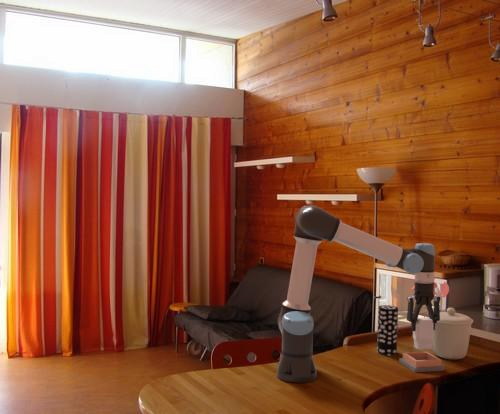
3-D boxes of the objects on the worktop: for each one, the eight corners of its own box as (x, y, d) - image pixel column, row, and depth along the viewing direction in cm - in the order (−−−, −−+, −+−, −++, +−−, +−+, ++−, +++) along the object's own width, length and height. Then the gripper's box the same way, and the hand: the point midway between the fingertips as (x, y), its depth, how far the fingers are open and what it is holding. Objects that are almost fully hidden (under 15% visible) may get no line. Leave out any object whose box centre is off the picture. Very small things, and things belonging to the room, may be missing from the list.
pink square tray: (414, 372, 223) (414, 362, 223) (399, 361, 236) (399, 352, 236) (444, 370, 226) (444, 360, 226) (427, 360, 239) (428, 350, 239)
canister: (442, 347, 258) (443, 301, 257) (480, 357, 244) (481, 309, 243) (419, 354, 246) (420, 306, 246) (457, 365, 233) (459, 314, 232)
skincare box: (426, 346, 233) (428, 317, 233) (432, 349, 229) (433, 319, 229) (412, 346, 232) (414, 317, 232) (417, 349, 228) (419, 319, 227)
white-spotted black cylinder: (398, 355, 244) (400, 309, 243) (379, 355, 244) (380, 309, 243) (394, 350, 252) (395, 305, 252) (375, 349, 253) (376, 305, 252)
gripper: (407, 284, 224) (405, 342, 225) (450, 282, 228) (449, 339, 229) (398, 280, 231) (396, 337, 232) (440, 279, 235) (439, 334, 236)
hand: (422, 338), depth 231 cm, fingers closed on skincare box, 6 cm apart
